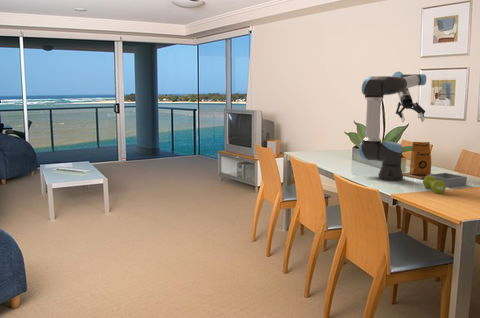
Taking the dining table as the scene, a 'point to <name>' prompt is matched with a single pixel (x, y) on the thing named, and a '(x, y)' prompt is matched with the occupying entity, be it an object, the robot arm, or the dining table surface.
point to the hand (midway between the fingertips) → (413, 120)
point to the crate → (450, 179)
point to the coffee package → (420, 159)
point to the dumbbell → (434, 184)
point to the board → (414, 175)
